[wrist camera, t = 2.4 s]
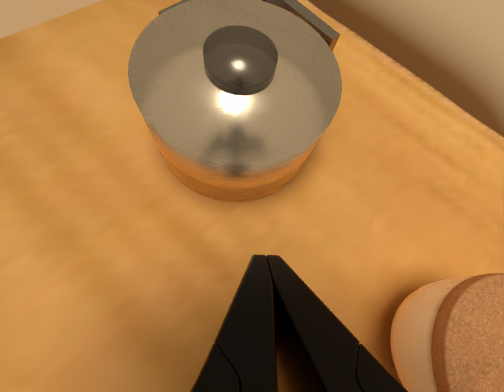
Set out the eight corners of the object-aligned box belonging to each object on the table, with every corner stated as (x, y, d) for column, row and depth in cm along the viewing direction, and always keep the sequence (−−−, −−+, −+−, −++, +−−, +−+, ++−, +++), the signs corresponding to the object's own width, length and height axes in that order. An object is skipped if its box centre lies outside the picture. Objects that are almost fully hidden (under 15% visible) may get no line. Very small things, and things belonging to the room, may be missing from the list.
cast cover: (334, 133, 26) (388, 59, 17) (240, 236, 21) (250, 204, 13) (231, 54, 28) (234, -46, 20) (125, 131, 23) (68, 44, 15)
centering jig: (321, 81, 28) (351, 19, 22) (168, 64, 27) (150, -7, 20) (315, 12, 32) (338, -58, 26) (181, -6, 30) (170, -85, 24)
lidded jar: (337, 322, 20) (430, 355, 11) (425, 253, 22) (554, 234, 14) (429, 465, 17) (645, 658, 8) (514, 367, 20) (743, 434, 11)
